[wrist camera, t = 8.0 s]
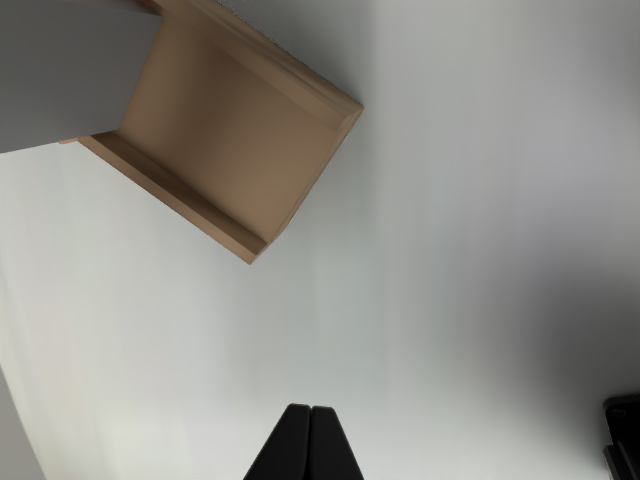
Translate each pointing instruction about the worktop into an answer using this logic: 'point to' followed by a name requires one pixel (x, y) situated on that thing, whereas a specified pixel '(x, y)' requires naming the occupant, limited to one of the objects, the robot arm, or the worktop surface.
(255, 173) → the tray
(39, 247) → the worktop surface
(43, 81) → the plunger
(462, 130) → the worktop surface
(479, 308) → the worktop surface
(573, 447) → the worktop surface
